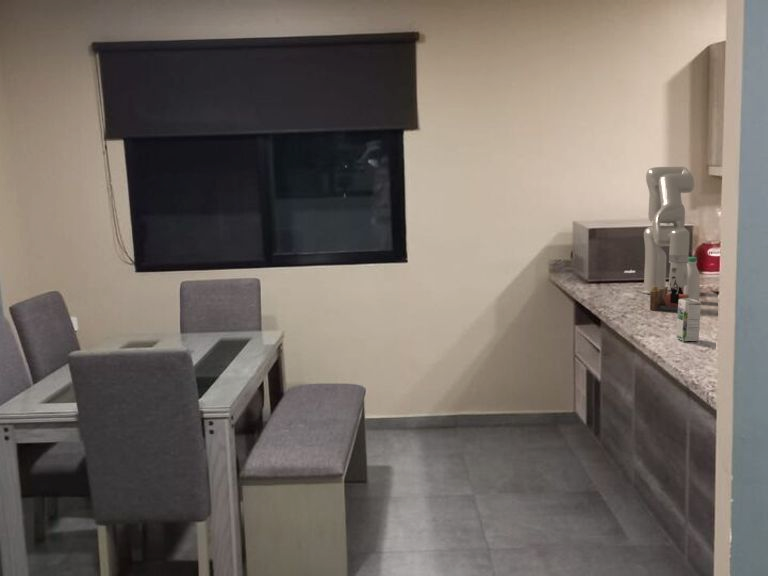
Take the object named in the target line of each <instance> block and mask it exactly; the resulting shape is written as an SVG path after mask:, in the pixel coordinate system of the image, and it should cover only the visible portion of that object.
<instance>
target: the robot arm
mask: <svg viewBox="0 0 768 576" xmlns="http://www.w3.org/2000/svg"><path fill="white" fill-rule="evenodd" d="M692 174H693V173H691V171H690V170H689V169H688V168H687V167H685V166H657V167H655V166H654V167H651V168H649V169H648V170H647V171H646V175H645V180H646V181H645V182H646V186H647V188H648V192H649V198H648V211H647V212H648V220H649V222H651V223H652V224H651V226H648V227H646V228H645V229H644V232H643V239H644V242H643V243H644V272H643V273H644V276H643V277H644V278H643V280H644V281H643V288H641V289H640V293H641V294H646V295H651V287H652V286H656V287H657V289H658V288H661V287H666V285H667V284H666V281H667V280H666V278H667V277H666V276H667V254H666V251H664V250H663V248H662V247H669V249H668V250H669V251H668V252H669V253H668V263H670V266H669V274H668V276H669V277H668V286H669V287H670V288H669V289H670V291H669V289H667V293H669V292H671V298H670V303H675V304H678V302H679V294H684V286H685V285H687V283H688V267H687V263H688V257H690V256H689V252H690V231H689V230H688V229H687V228H685V221H686V210H685V206H684V204H683V202H682V195H681V194H690V193H692V192H693V190H694V188H695V179H694V175H692ZM661 224H672V225H661Z"/></svg>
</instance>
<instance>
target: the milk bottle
mask: <svg viewBox="0 0 768 576" xmlns="http://www.w3.org/2000/svg"><path fill="white" fill-rule="evenodd" d="M697 263H698V257H695V256H689V257H688V263H687V267H688V283H687V285H685V286H684V294H686V295H689V296H688V299H694V300H697V301H700V290H701V289H700V287H701V285H700V284H701V275H700V272H699V269H698V266H697Z"/></svg>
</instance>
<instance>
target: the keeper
mask: <svg viewBox="0 0 768 576" xmlns="http://www.w3.org/2000/svg"><path fill="white" fill-rule="evenodd" d="M657 311H664V312H672V313H673V312H675V313H678V307H675V306H665V303H662V304H660V305H659V308H658V310H657Z"/></svg>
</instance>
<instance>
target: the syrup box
mask: <svg viewBox="0 0 768 576" xmlns="http://www.w3.org/2000/svg"><path fill="white" fill-rule="evenodd" d="M701 306H702V302H701V301H700V300H699V301H697V300H694V299H679V302H678V312H677V320H676V321H677V323H676V336H675V337H676V338H678V339H680V340H682V341H699V340H700V325H701V323H700V322H701V308H702V307H701ZM676 338H675V339H676ZM678 339H677V340H678ZM680 340H679V341H680ZM682 341H681V342H682Z"/></svg>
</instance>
